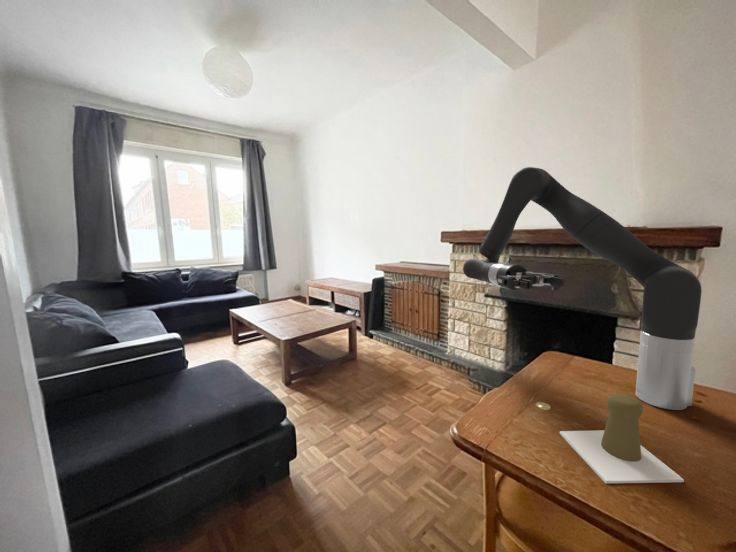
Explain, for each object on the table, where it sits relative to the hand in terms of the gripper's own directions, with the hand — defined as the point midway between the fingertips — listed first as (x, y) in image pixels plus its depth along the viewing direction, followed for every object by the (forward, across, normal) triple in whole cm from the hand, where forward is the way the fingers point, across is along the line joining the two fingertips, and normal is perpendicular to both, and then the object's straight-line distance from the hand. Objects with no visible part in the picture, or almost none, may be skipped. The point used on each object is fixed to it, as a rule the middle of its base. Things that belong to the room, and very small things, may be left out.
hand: (547, 284), depth 73 cm
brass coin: (+3, -2, +30) cm, 31 cm away
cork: (+20, +1, +30) cm, 36 cm away
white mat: (+20, -1, +30) cm, 36 cm away
